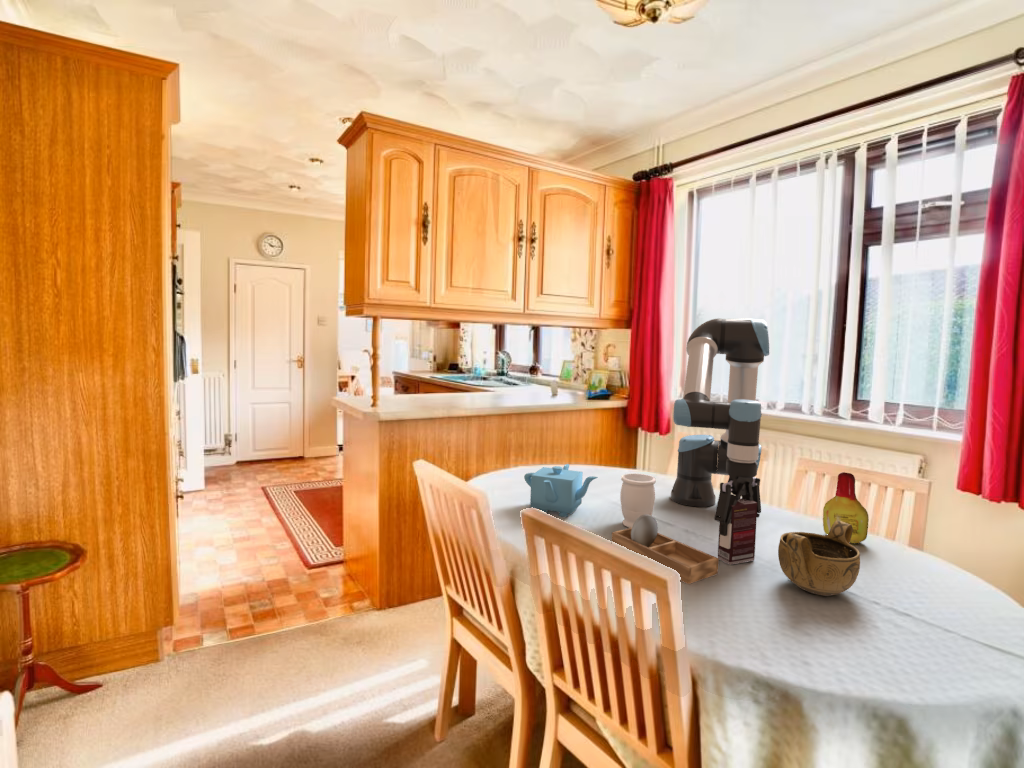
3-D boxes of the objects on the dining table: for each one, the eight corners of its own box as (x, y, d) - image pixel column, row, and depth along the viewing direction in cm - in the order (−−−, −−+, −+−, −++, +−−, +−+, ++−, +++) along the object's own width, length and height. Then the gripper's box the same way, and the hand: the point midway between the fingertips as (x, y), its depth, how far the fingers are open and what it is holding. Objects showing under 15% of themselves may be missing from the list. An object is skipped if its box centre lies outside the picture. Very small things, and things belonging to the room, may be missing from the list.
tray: (639, 538, 160) (641, 505, 159) (717, 574, 138) (720, 535, 137) (611, 546, 154) (612, 511, 153) (688, 584, 132) (690, 543, 131)
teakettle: (519, 505, 188) (520, 462, 186) (568, 499, 195) (569, 458, 194) (544, 524, 170) (546, 477, 169) (597, 516, 178) (598, 471, 176)
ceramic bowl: (824, 617, 118) (830, 548, 116) (753, 584, 132) (757, 523, 131) (877, 592, 130) (883, 530, 128) (807, 565, 144) (811, 509, 142)
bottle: (816, 534, 166) (822, 469, 164) (828, 531, 170) (833, 467, 168) (859, 548, 156) (865, 479, 154) (870, 544, 160) (876, 476, 158)
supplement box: (741, 554, 150) (745, 497, 149) (755, 561, 146) (759, 502, 144) (715, 558, 147) (719, 500, 146) (729, 565, 143) (733, 505, 141)
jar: (654, 532, 165) (656, 483, 163) (618, 529, 167) (621, 480, 165) (652, 520, 175) (655, 474, 174) (619, 517, 177) (621, 471, 176)
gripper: (754, 452, 153) (748, 531, 155) (702, 461, 141) (697, 546, 143) (779, 458, 147) (773, 540, 149) (728, 467, 135) (722, 556, 137)
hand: (736, 543), depth 146 cm, fingers closed on supplement box, 9 cm apart
